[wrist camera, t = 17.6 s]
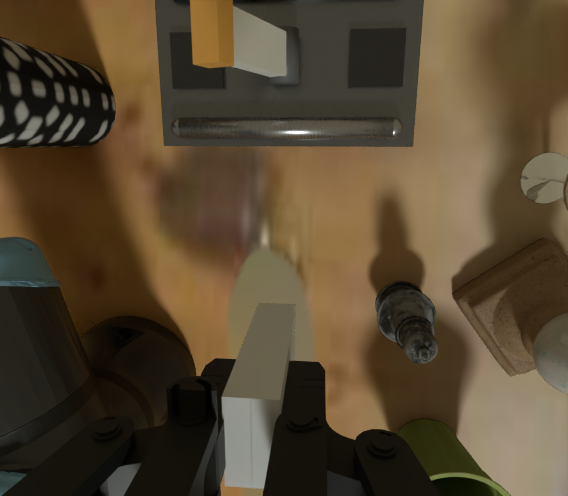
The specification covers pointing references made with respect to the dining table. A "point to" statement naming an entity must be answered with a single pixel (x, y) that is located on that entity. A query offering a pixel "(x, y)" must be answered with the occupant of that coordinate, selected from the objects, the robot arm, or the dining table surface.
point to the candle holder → (523, 312)
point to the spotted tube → (50, 100)
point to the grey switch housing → (312, 78)
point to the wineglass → (546, 178)
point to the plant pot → (448, 460)
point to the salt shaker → (408, 320)
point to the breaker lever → (243, 42)
